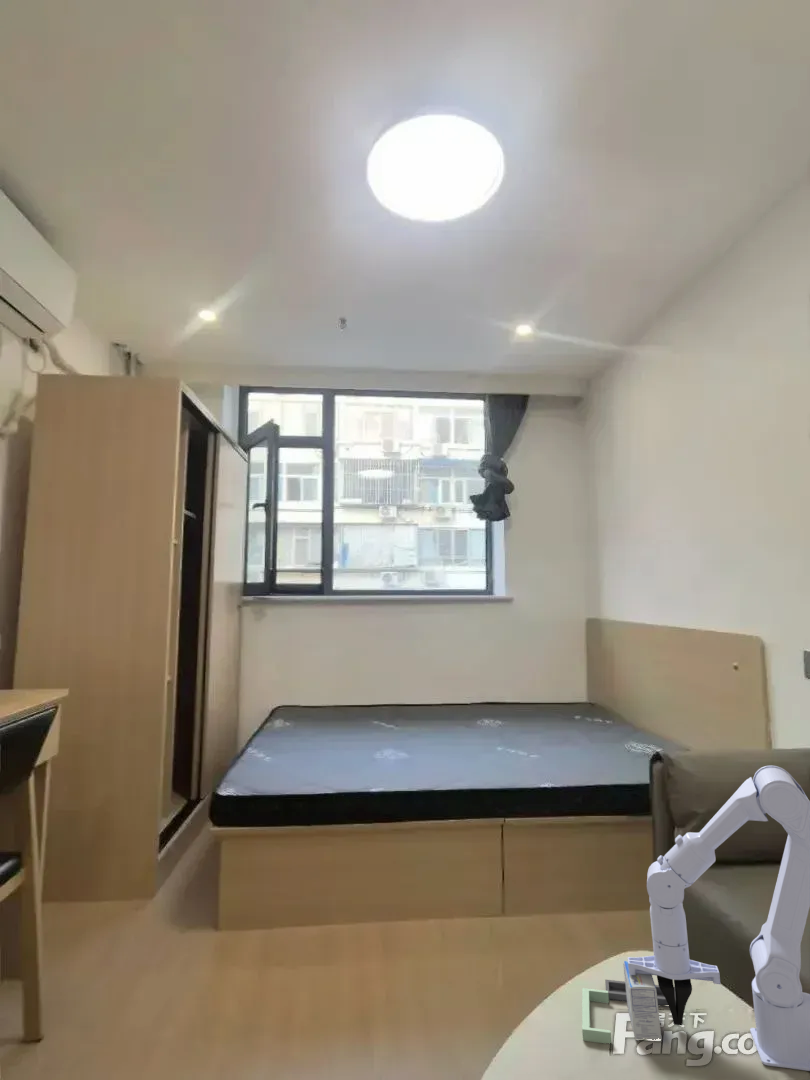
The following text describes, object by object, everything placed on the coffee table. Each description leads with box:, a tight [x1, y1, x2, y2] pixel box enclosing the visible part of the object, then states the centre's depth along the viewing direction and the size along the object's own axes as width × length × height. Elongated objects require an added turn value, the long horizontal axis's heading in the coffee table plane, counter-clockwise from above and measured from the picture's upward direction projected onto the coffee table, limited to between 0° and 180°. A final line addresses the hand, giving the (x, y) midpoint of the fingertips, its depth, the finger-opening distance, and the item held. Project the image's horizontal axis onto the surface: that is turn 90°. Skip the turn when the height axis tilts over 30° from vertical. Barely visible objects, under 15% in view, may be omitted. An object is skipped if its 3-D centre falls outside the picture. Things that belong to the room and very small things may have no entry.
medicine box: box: [623, 960, 663, 1040], centre depth 107 cm, size 8×4×9 cm, turn 168°
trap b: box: [604, 979, 627, 1003], centre depth 116 cm, size 5×4×1 cm
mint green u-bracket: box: [581, 987, 612, 1045], centre depth 109 cm, size 5×11×2 cm, turn 164°
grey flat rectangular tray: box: [655, 984, 676, 1006], centre depth 114 cm, size 5×4×1 cm
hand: (677, 1021), depth 106 cm, fingers closed
